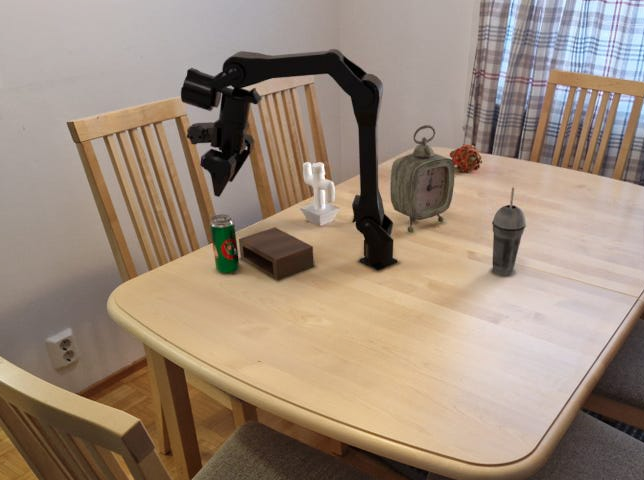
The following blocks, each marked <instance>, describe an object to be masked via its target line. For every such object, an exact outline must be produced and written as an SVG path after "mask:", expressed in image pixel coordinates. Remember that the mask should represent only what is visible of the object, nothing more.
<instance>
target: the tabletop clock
mask: <svg viewBox="0 0 644 480" xmlns="http://www.w3.org/2000/svg"><path fill="white" fill-rule="evenodd" d="M425 129H431V130H432V136H431V137H430V138H428V139H427V137H425V136H424V137H421V140H420V141H419V140H417V139H416V137H417V134H418V133H419V132H420V131H422V130H425ZM435 136H436V129H435V127H434V126H433V125H431V124H426V125H425V124H424V125H422V126H420V127H418V128H417V129H416V130H415V132H414V133H413V137H412V138H413V141H414V143H415V144H416V146H415V147H414V149H413V151H412V153H409V154H406V155H403V156H401V157H399V158H396V159H395V160H394V161H393V162H392V165H391V171H390V183H389V184H390V185H389V189H390V190H389V191H390V202H391V204H392V208H393V210H394V211H396V212H398V213H400V214H402V215H405V217H409V226H408V227H407V232H408V233H410V234H411V233H414V231H415V228H414V227H413V224H414V223H416V222H417V221H423V220H425V219H430V218H434V217H436V216H437V217H438V218H437V221H438V222H439V223H441V224H442V223H443V222H445V218H444V217H443V216H442V215H441V214H443V213H444V212H446V211H447V210H448V209H449V208H450V206H451V203H452V200H453V194H454V186H455V166H454V163H453V160H452V158H449V157H446V156H443V155H440V154H438V153H435V152H434V150H433V148H432V146H431V145H429V144H428V143H430V142H432V141H433V139H434V138H435ZM417 144H418V145H417Z"/></svg>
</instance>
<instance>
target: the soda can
mask: <svg viewBox="0 0 644 480" xmlns="http://www.w3.org/2000/svg"><path fill="white" fill-rule="evenodd" d="M235 226H236V225H235V221H234V220H233V217H232V216H231V215H229V214H215V215H214V216H211V218H210V222H209V228H210V237H211V242H212V251H213V257H214V263H215V264H214V265H215V269H216V270H217V272H219V273H220V274H227V275H228V274H233V273H235V272H237V271H238V270H239V269H240V259H239V252H238V242H237V235H236V227H235Z"/></svg>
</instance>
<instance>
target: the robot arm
mask: <svg viewBox="0 0 644 480" xmlns="http://www.w3.org/2000/svg"><path fill="white" fill-rule="evenodd" d="M221 69H222V71H220V72H219V73H217V74H216V75H212V74H209V73H205V72H203V71H200V70H199V69H197V68H194V67H191V68H188V69H187V70H186V76H185V78H184V80H183V83H182V87H181V88H180V100H181V102H182V103H184V104H186V105H190V106H192V107H196V108H198V109H201V110H205V111H208V112H212V111H213V110H214V108H215V109H218V108H219V114H218V119H217V120H216V121H214V122H196V123H192V124H191V125H190V126H189V127H187V129H186V132H187V133H186V138H187V139H188V140H189V141H190V144H191V145H198V144H210V147H212V148H210V149H208V150H206V152H204V153H203V154H202V155H201V156H200V161H199V162H200V163H199V166H200V167H201V168H203V169H204V170H205V171H207V172H208V173H209V174H210V178H211V179H210V180H211V183H212V188H213V195H214V196H215V197H218V198H219V197H221V195H222V193H223V192H224V191H225V188H226V187H227V185H228V183H232V182H234V180H235V178H236V176H237V175H238V173H239V172H240V170H241V169H242V168H243V166H244V164H245V162H246V161H247V160H248V158H249V156H250V155H251V153H252V151H253V150H254V146H255V139H254V138H253V136H252V135H250V134H248V133H247V131H249V130H250V126H251V125H250V123H249V116H250V109H251V104H252V105H253V104H254V105H258V104H259V103H260V102H261V101H262V100H263V98H262V96H261V95H260V93H258V91H257V89H256V87H253V88H252V89H250V90H248V89H246V88H247V87H251V86H254V85H257V84H259V83H263V82H265V81H268V80H272V79H281V78H291V77H292V78H294V77H295V78H296V77H305V76H318V75H328V76H330V78H332V79H333V81H334V82H335V83H336V84H337V85H338V86H339V87H340V89H341V90H342V91H343V92H344V93H345V94H347V95H348V96H349V97H350V100H351V106H352V110H353V115H354V118H355V121H356V124H357V129H358V130H357V131H358V132H357V133H358V160H359V191H360V193H359V194H355V195H354V199H353V201H352V204H351V208H352V212H353V219H352V222H351V223H353V224H354V223H355V228H356V231H358V232H359V233H360V234H361V235H362V236H363V257H361V258H359V262H360V263H362V264H364V265H366V266H368V267H370V268H371V269H373V270H375V271H381V270H384V269H385V268H388V267H391V266H393V265H395V264H398V261H399V260H398V259H397V258H395V257H394V239H393V238H392V232H393V228H394V221H393V220H392V219H391V218H390V217H389V216H388V215H387V214H386V213H385V208H384V202H383V198H382V196H381V193H380V188H379V139H378V138H379V137H378V136H379V134H378V124H379V123H378V122H379V117H380V112H381V106H382V99H383V94H384V85H383V82H382V80H380V78H379V77H378V76H377V75H375V74H373V73H367V72H366V71H365V70H364V69H363V68H362V67H360V66H359V65H357V64H356V63H355V62H354V61H352V60H351V59H349V58H348V57H346V56H345V55H344V54H343V53H342V51H340V50H339V49H336V48H331V49H329V50H328V49H327V50H320V51H310V52H299V53H298V52H297V53H287V54H286V53H285V54H277V55H274V54H273V55H272V54H271V55H270V54H264V53H261V52H254V51H253V52H252V51H244V50H241V51H238V52H235V53H234V54H232V55H230V56H229V57H227V58H226V59H225V60H224V62H223V63H222V68H221ZM230 87H232V88H230ZM219 106H220V107H219ZM214 148H215V149H214ZM217 148H218V150H217Z"/></svg>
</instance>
